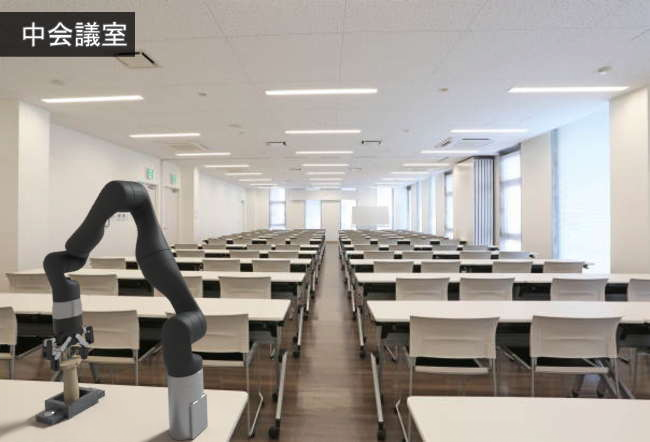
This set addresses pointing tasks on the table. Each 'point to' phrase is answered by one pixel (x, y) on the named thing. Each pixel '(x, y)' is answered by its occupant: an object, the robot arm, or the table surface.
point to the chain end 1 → (55, 410)
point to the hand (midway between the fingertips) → (70, 364)
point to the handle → (70, 379)
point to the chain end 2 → (86, 399)
